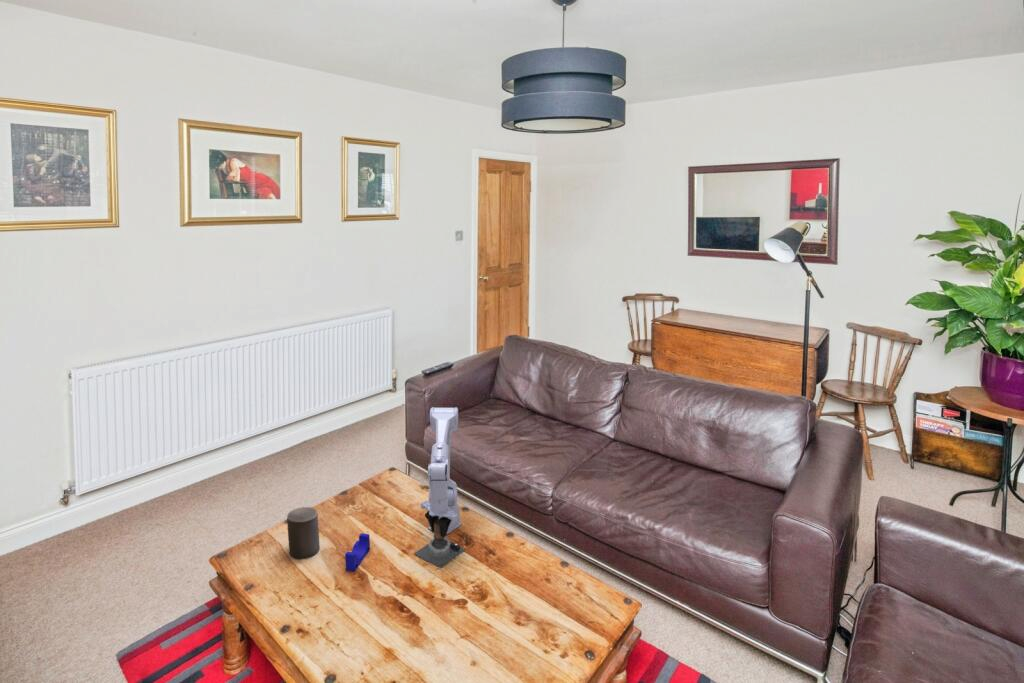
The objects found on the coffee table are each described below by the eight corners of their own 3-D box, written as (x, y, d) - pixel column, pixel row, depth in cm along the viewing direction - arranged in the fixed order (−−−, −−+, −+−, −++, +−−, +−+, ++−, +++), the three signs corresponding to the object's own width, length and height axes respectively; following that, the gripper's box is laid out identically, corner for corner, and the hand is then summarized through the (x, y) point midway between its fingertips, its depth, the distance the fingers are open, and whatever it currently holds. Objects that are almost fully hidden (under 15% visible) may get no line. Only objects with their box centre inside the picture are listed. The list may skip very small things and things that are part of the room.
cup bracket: (438, 538, 206) (438, 529, 205) (464, 550, 199) (464, 541, 198) (414, 554, 196) (413, 545, 195) (441, 568, 190) (440, 558, 189)
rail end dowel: (439, 534, 199) (439, 518, 197) (446, 538, 196) (446, 522, 195) (431, 538, 196) (431, 522, 194) (439, 542, 194) (438, 526, 192)
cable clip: (357, 548, 200) (356, 532, 198) (370, 549, 199) (369, 534, 197) (341, 570, 188) (340, 553, 187) (355, 571, 187) (354, 555, 186)
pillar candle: (291, 562, 191) (288, 521, 188) (287, 546, 200) (284, 506, 196) (322, 554, 196) (320, 514, 192) (317, 539, 204) (314, 500, 200)
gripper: (414, 494, 193) (415, 531, 197) (447, 508, 185) (447, 546, 189) (428, 486, 199) (429, 522, 202) (461, 499, 191) (462, 536, 194)
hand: (439, 533), depth 196 cm, fingers closed on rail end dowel, 3 cm apart
